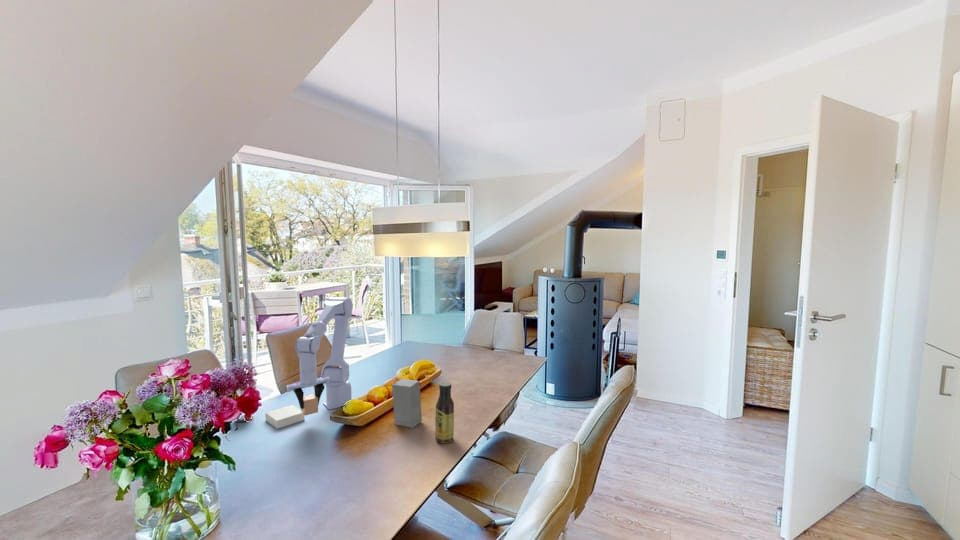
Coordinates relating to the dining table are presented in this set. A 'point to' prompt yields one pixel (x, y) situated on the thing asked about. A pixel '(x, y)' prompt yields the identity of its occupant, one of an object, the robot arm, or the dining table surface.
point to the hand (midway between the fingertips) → (309, 406)
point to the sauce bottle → (444, 414)
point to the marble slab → (284, 416)
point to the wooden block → (310, 404)
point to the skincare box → (407, 403)
